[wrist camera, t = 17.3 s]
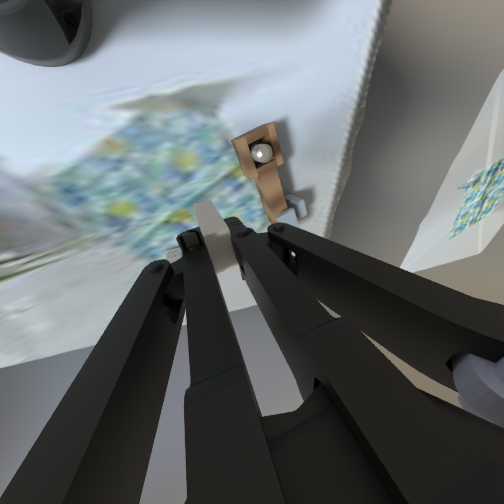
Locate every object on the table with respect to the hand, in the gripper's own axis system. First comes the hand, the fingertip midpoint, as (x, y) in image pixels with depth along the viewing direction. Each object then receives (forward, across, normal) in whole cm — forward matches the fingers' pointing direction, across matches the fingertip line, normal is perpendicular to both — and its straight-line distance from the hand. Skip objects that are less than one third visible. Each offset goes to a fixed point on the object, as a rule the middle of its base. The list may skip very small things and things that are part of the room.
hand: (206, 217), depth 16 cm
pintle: (+24, +13, +2) cm, 28 cm away
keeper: (+24, +19, -13) cm, 33 cm away
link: (+24, +15, -4) cm, 29 cm away
